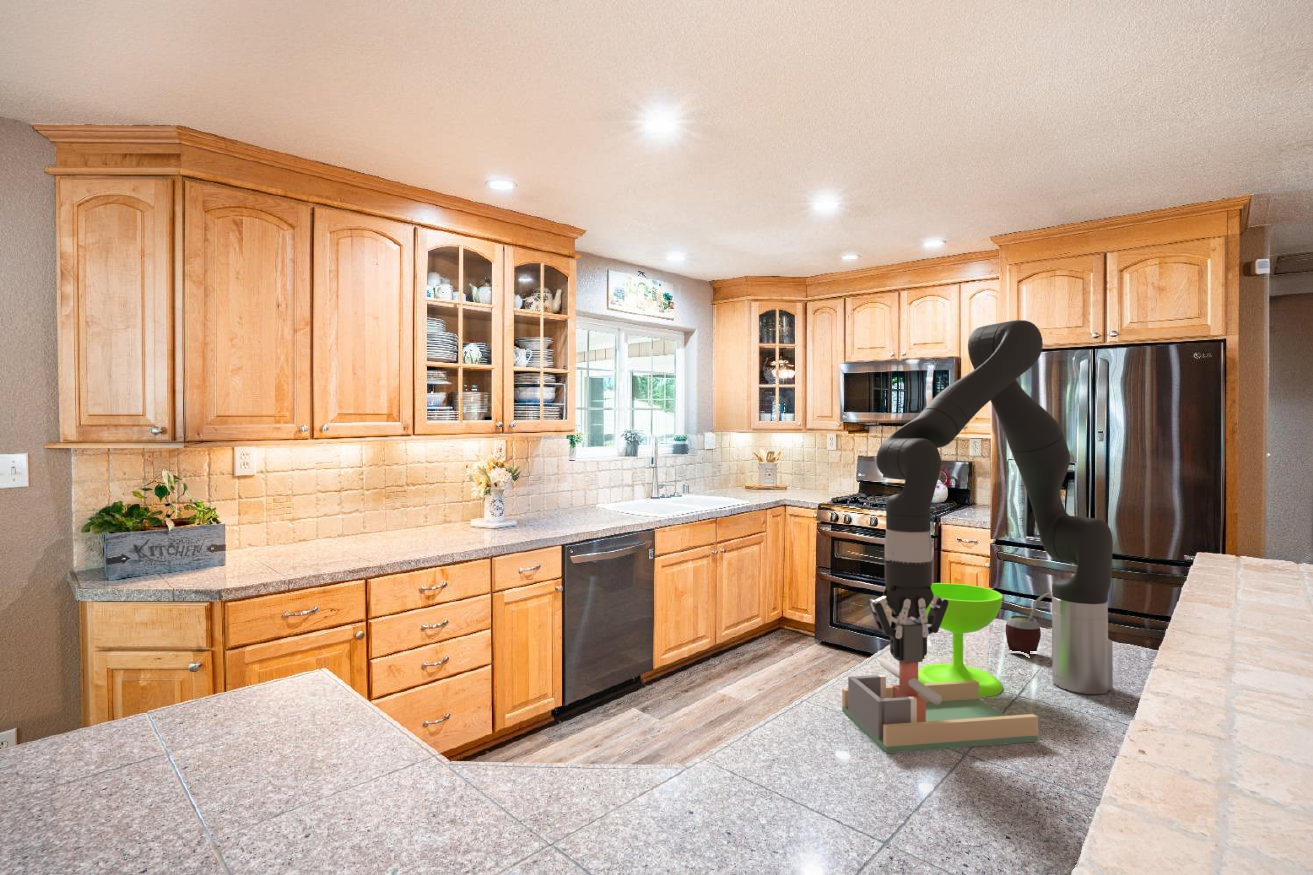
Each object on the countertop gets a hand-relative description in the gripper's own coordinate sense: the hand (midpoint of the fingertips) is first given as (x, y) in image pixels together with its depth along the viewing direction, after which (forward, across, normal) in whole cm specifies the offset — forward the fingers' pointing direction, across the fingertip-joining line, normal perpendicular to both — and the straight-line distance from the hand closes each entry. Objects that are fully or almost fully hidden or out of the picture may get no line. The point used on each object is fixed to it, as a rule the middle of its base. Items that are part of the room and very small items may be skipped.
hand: (908, 657), depth 111 cm
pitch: (+12, -5, 0) cm, 13 cm away
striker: (+10, 0, 0) cm, 10 cm away
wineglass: (+12, -21, -18) cm, 30 cm away
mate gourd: (+12, -46, -31) cm, 57 cm away
